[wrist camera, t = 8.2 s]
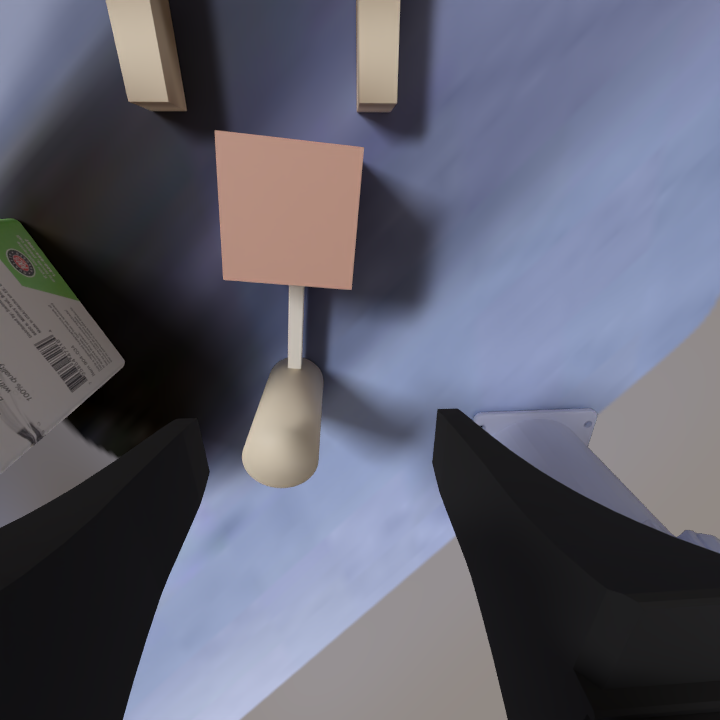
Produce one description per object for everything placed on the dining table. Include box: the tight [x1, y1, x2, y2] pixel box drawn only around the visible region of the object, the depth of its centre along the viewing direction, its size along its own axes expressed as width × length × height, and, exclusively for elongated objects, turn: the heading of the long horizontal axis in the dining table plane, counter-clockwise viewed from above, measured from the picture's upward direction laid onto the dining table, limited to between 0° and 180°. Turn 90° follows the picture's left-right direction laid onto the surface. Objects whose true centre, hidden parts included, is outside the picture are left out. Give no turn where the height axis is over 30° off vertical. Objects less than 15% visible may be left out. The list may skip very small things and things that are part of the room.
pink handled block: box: [215, 130, 364, 488], centre depth 17 cm, size 14×5×7 cm, turn 174°
